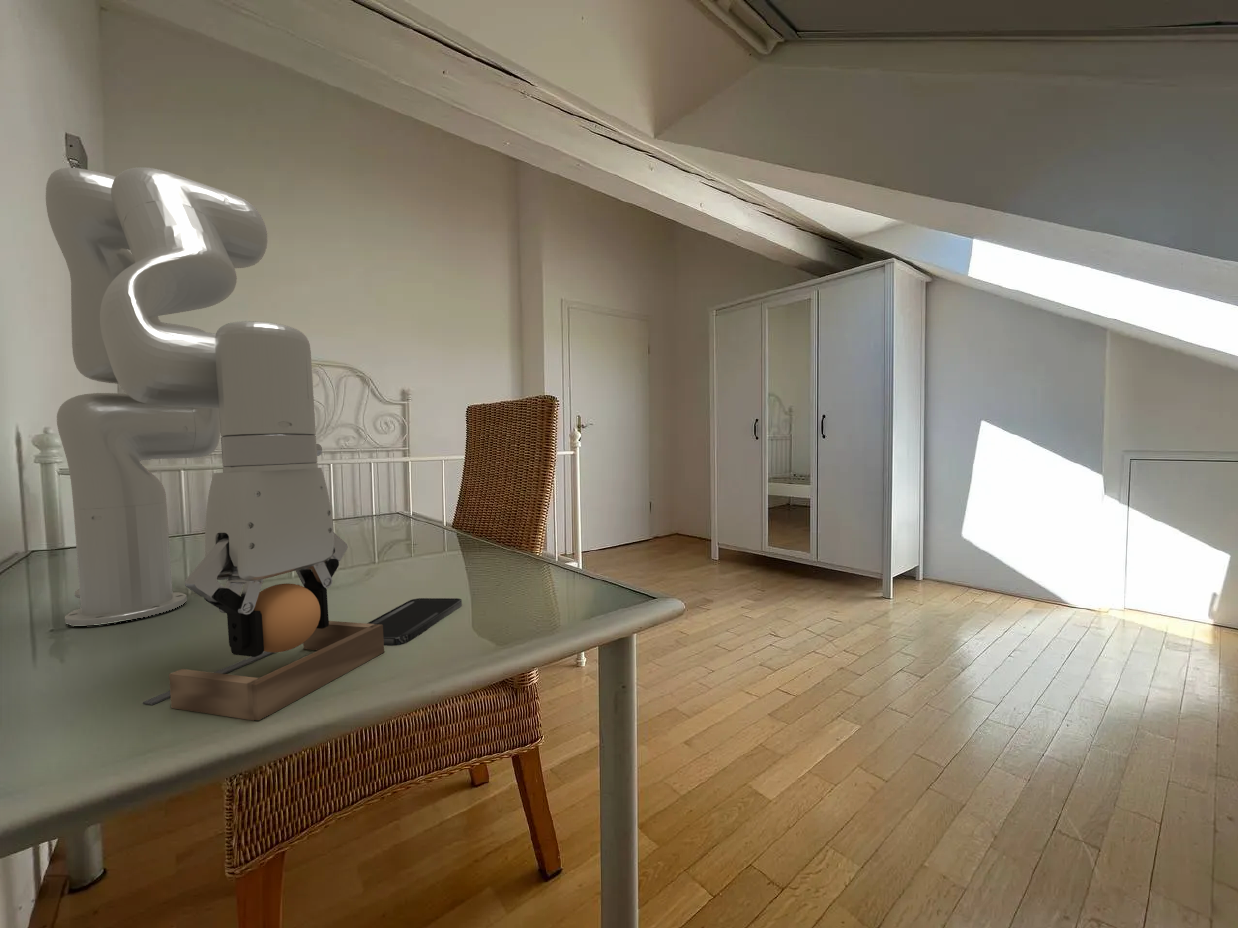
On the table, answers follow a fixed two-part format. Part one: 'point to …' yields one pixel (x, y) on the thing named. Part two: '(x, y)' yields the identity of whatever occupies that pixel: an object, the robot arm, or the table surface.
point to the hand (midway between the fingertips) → (283, 638)
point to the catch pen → (279, 675)
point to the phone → (414, 618)
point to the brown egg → (287, 616)
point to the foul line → (222, 671)
